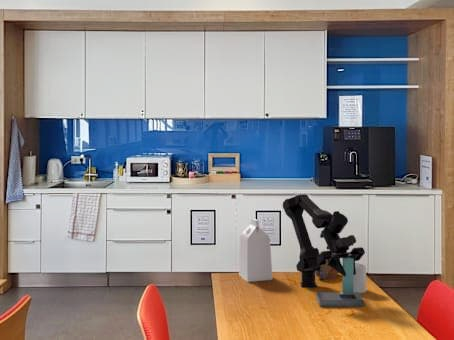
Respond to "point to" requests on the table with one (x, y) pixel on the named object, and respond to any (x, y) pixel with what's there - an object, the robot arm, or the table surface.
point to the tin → (326, 271)
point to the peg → (348, 276)
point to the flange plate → (340, 299)
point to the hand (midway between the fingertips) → (350, 275)
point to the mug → (359, 278)
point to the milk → (255, 254)
